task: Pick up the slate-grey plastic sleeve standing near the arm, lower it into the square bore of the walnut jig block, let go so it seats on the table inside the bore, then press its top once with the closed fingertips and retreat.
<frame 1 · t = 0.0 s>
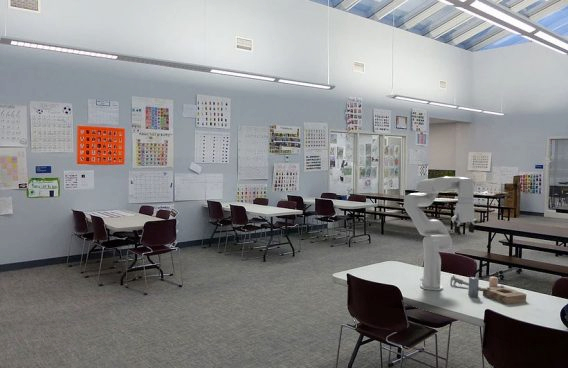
hand: (464, 232, 232), 37 cm above the table, tool pointing down, fingers open, 9 cm apart
terracotta sleeve: (493, 291, 251), on the table
jig: (503, 298, 238), on the table
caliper: (468, 288, 257), on the table
sleeve: (473, 295, 242), on the table
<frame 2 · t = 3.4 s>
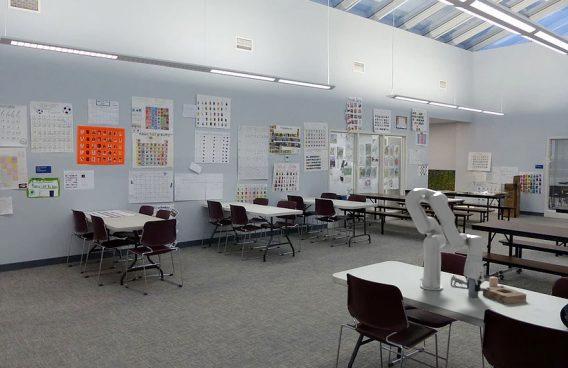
hand: (473, 289, 242), 3 cm above the table, tool pointing down, fingers closed on sleeve, 5 cm apart
sleeve: (473, 295, 242), on the table, touching gripper
everything else where it was.
when the fingers open (5 cm above the table, at t = 7.8 s): sleeve drops 1 cm, resting in jig.
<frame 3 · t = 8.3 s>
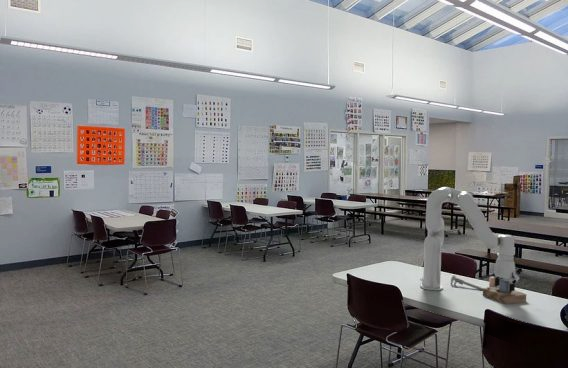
hand: (504, 288, 238), 6 cm above the table, tool pointing down, fingers open, 9 cm apart
sleeve: (503, 298, 238), resting in jig
everything else where it was.
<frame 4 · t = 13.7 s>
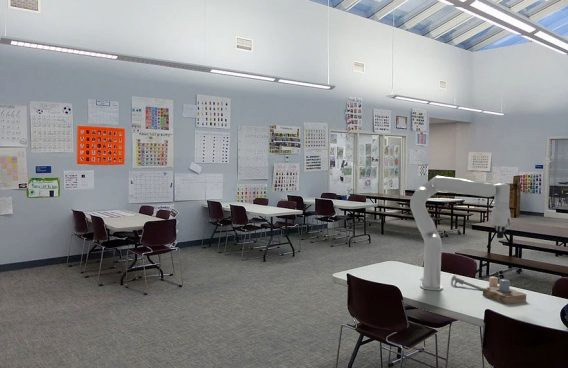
hand: (500, 238, 244), 32 cm above the table, tool pointing down, fingers closed
nothing on the table moved.
at the end: sleeve 0.0 cm off-centre on the jig, point 0.0 cm above the jig's base; sleeve tilted 0°; the gripper is holding nothing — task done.
